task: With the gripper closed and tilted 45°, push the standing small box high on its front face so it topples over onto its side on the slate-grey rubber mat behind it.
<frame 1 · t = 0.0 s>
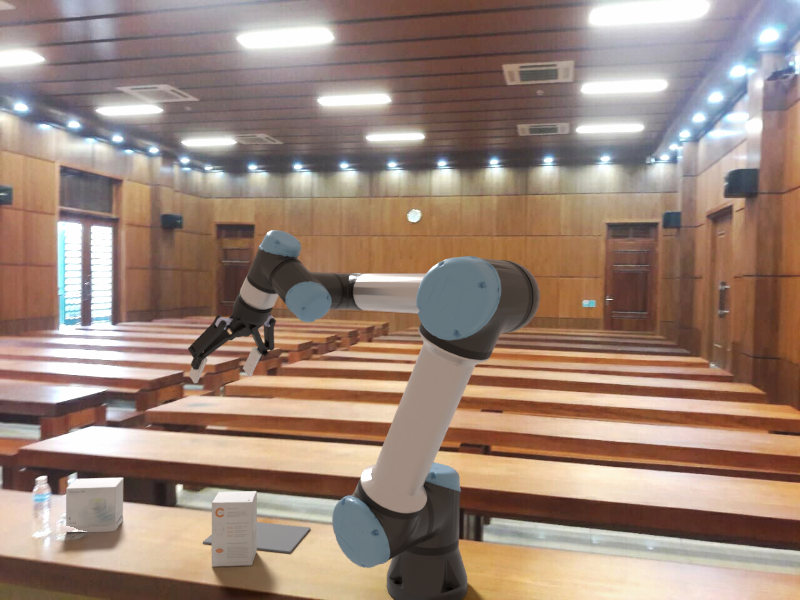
hand: (220, 375, 129), 36 cm above the table, tool tilted 35°, fingers open, 13 cm apart
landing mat: (258, 536, 130), on the table
skincare box: (95, 528, 133), on the table
small box: (234, 560, 119), on the table
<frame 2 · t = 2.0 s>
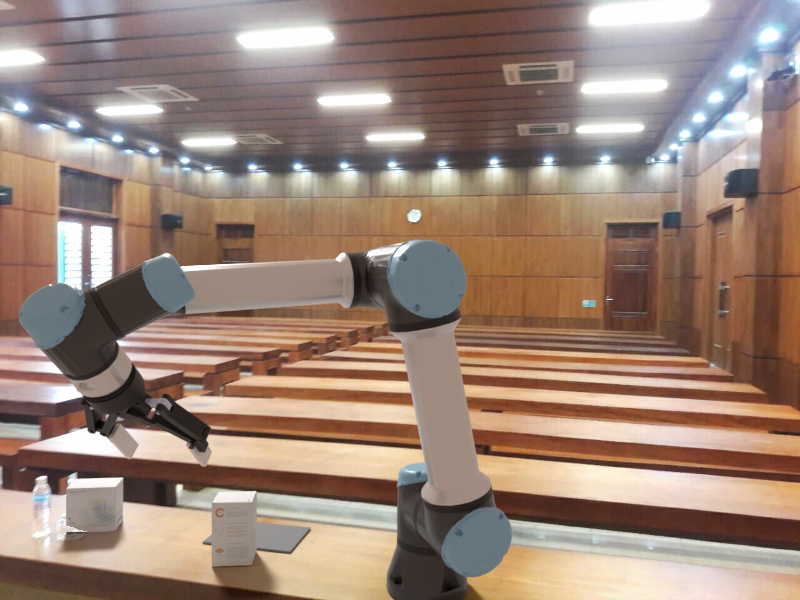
hand: (169, 455, 96), 28 cm above the table, tool tilted 45°, fingers open, 13 cm apart
nothing on the table moved.
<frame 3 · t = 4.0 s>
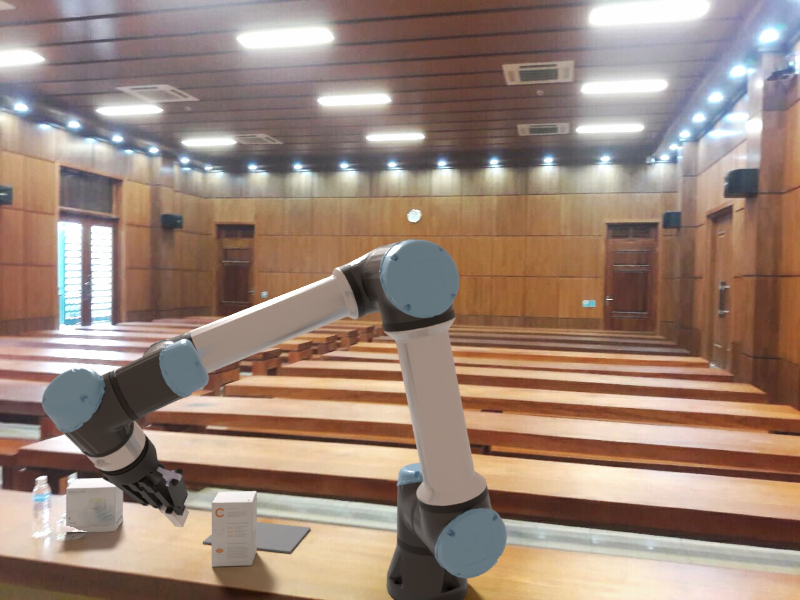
hand: (182, 519, 102), 15 cm above the table, tool tilted 45°, fingers closed
nothing on the table moved.
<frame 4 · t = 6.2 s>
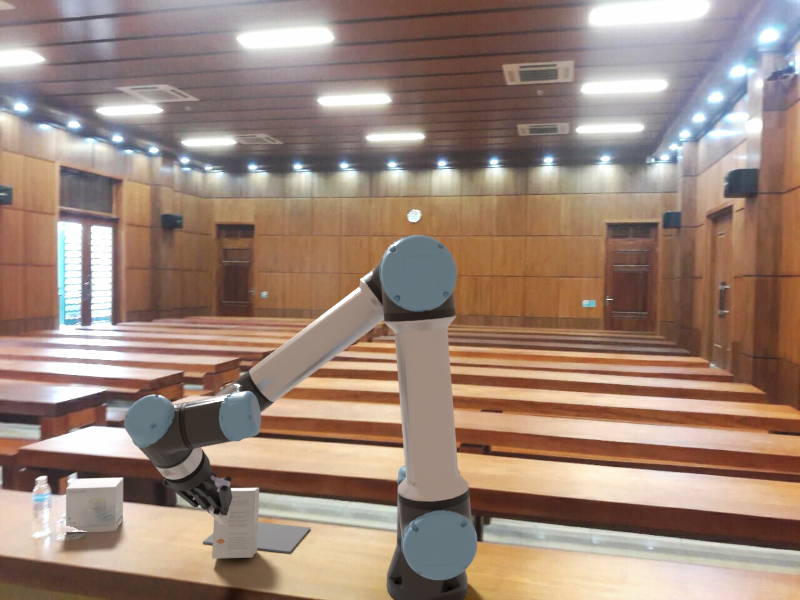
hand: (225, 518, 117), 9 cm above the table, tool tilted 45°, fingers closed
small box: (234, 556, 119), on the table, touching gripper
everything else where it was.
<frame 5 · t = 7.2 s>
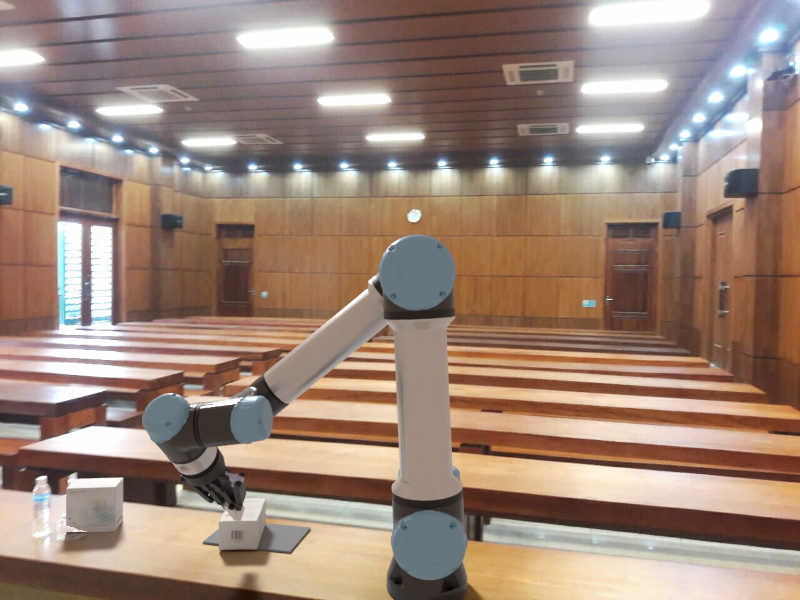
hand: (239, 514, 121), 9 cm above the table, tool tilted 45°, fingers closed
small box: (237, 536, 122), point 3 cm above the table, touching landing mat
everything else where it was.
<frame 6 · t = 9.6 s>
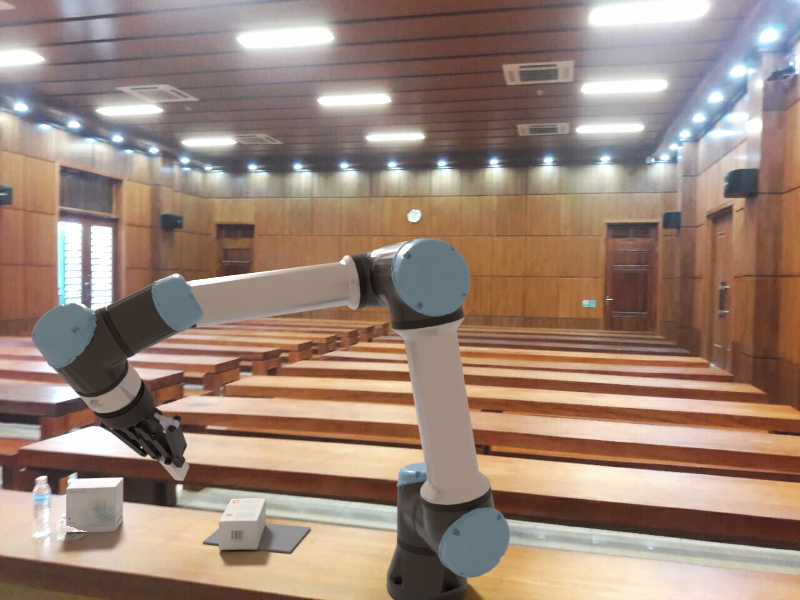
hand: (182, 473, 99), 24 cm above the table, tool tilted 45°, fingers closed
nothing on the table moved.
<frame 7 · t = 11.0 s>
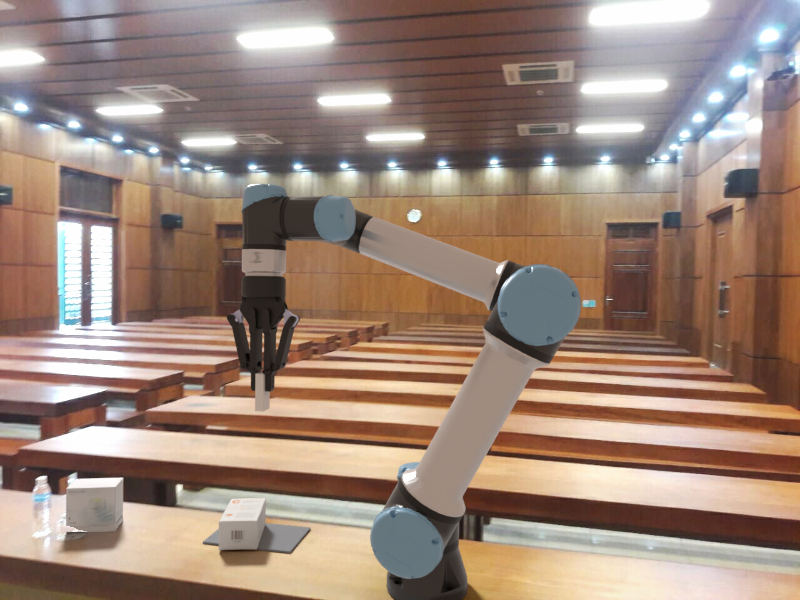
hand: (262, 409, 102), 34 cm above the table, tool pointing down, fingers closed
nothing on the table moved.
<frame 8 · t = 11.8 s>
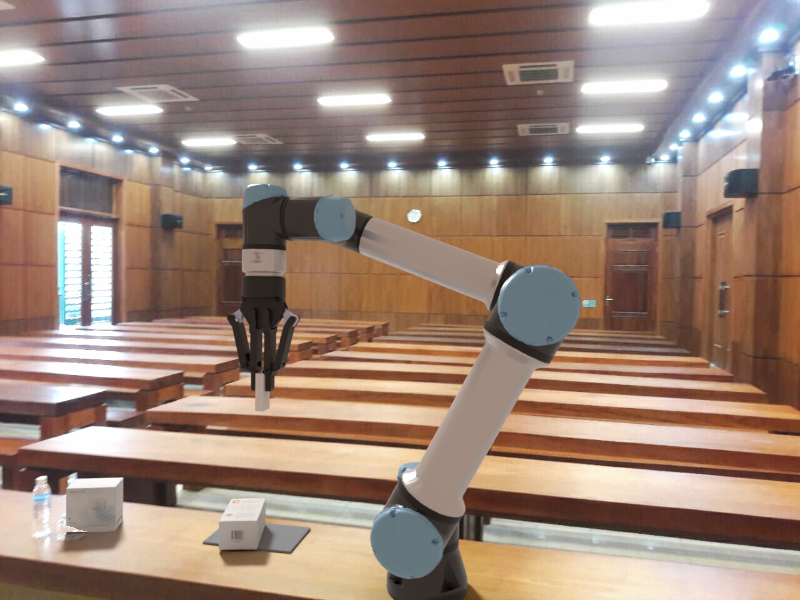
hand: (262, 409, 102), 34 cm above the table, tool pointing down, fingers closed
nothing on the table moved.
at the end: small box tilted 89°; small box touching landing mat; small box inside the target area (6.4 cm from its centre), point 3.4 cm above the table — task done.
